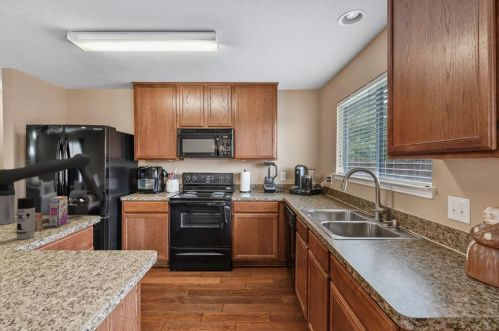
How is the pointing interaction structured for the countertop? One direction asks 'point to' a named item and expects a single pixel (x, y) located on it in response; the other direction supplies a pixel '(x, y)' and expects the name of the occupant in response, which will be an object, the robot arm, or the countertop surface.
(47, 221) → the rack
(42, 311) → the countertop surface
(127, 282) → the countertop surface
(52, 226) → the rubber mat
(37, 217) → the cherry offcut
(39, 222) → the maple offcut
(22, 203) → the spray can
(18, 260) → the countertop surface
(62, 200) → the candy bar box
